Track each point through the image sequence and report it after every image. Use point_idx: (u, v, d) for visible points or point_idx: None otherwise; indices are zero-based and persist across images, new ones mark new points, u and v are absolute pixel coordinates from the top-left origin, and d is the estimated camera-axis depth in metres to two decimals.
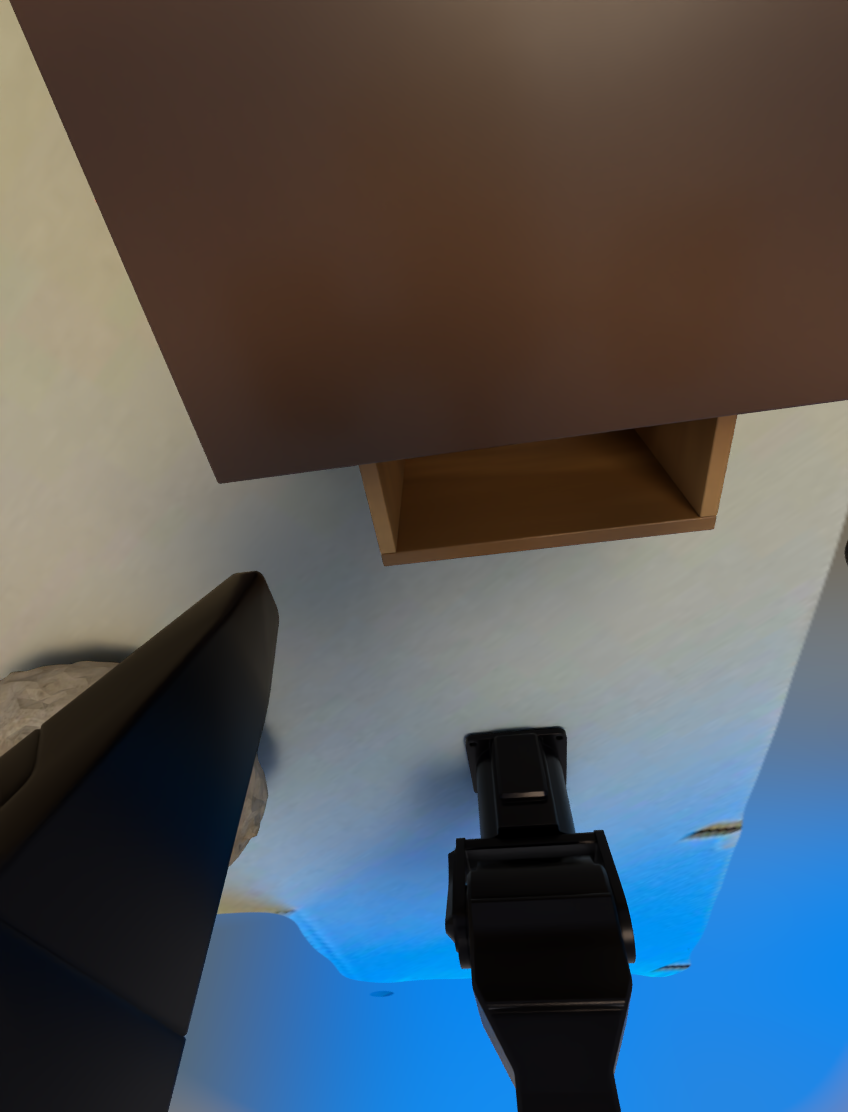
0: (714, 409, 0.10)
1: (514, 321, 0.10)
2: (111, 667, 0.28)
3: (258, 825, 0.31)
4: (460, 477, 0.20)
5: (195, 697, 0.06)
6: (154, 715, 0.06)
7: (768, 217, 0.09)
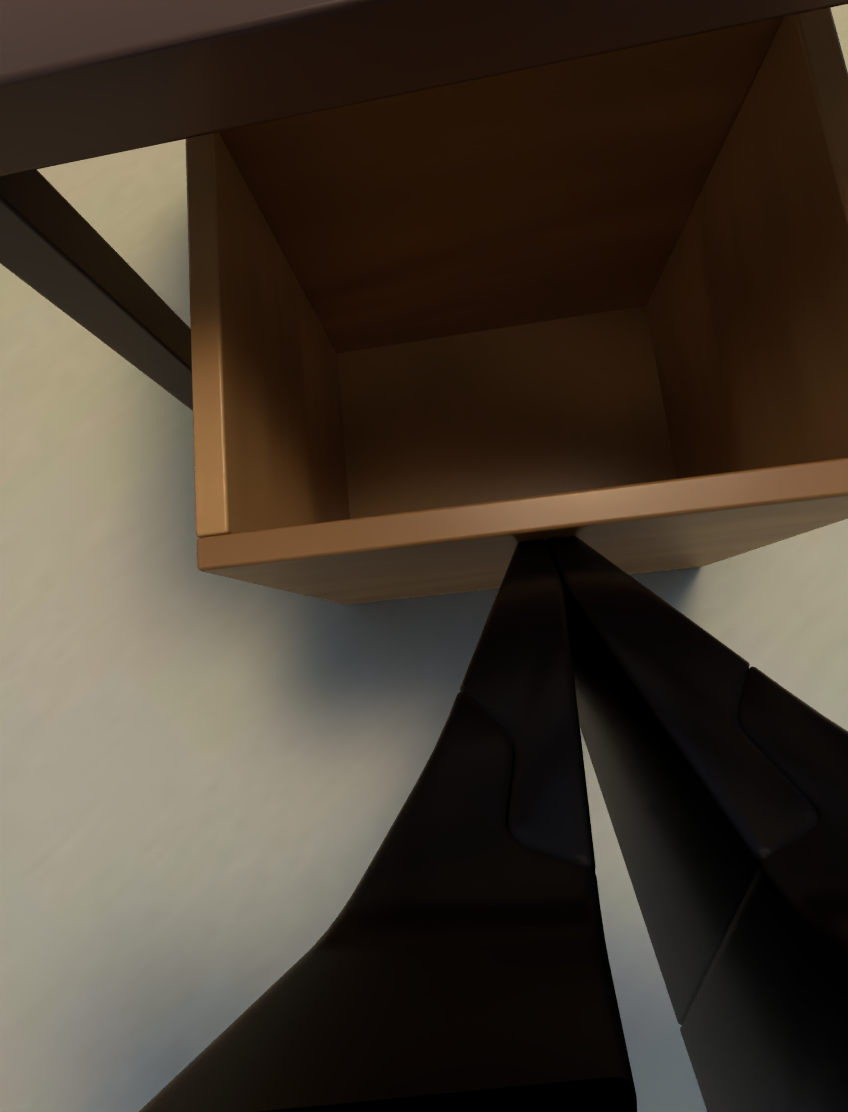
0: None
1: None
2: None
3: None
4: None
5: None
6: None
7: None
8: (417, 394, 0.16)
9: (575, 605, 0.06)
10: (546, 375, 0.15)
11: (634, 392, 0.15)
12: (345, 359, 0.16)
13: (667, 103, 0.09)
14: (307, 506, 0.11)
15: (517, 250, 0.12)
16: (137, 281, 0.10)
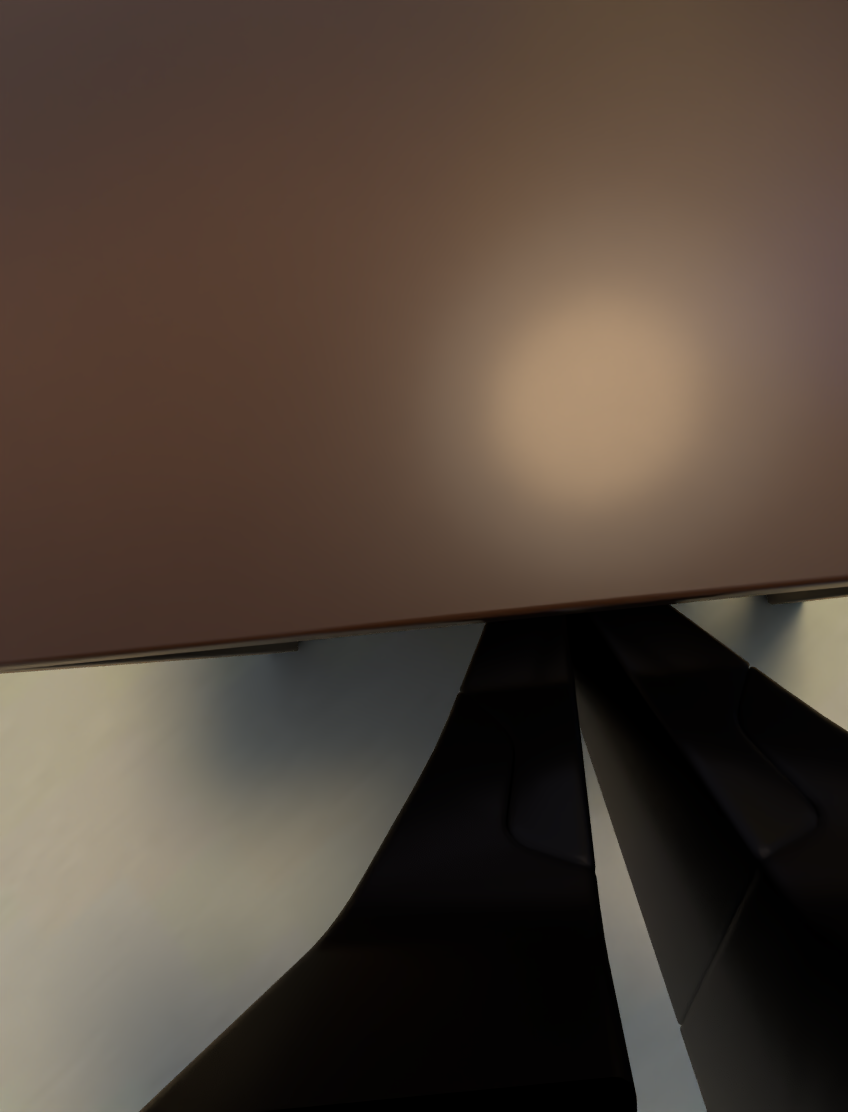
0: None
1: (466, 337, 0.05)
2: None
3: None
4: None
5: None
6: None
7: None
8: None
9: None
10: None
11: None
12: None
13: None
14: None
15: None
16: None
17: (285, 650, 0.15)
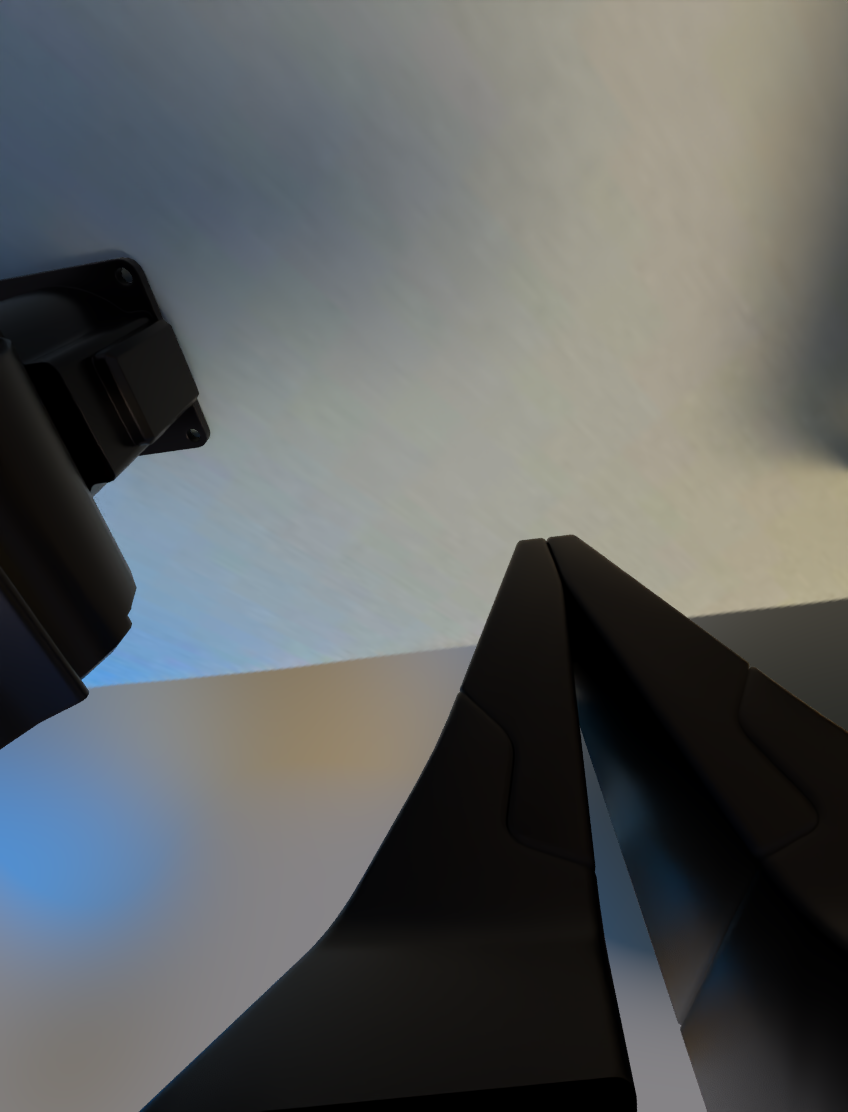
0: None
1: None
2: None
3: None
4: None
5: None
6: None
7: None
8: None
9: (575, 605, 0.06)
10: None
11: None
12: None
13: None
14: None
15: None
16: None
17: None
